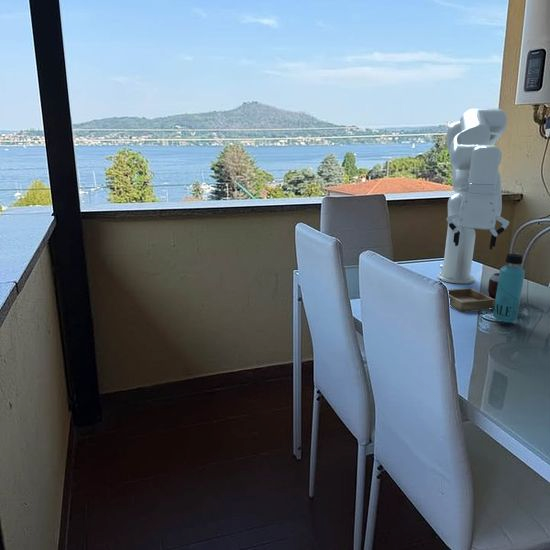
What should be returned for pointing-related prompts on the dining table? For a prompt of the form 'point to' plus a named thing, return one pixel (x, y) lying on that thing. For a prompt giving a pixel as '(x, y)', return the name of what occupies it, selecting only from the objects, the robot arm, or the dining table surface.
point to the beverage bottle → (509, 290)
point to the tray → (469, 300)
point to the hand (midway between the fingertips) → (473, 246)
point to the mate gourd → (493, 284)
